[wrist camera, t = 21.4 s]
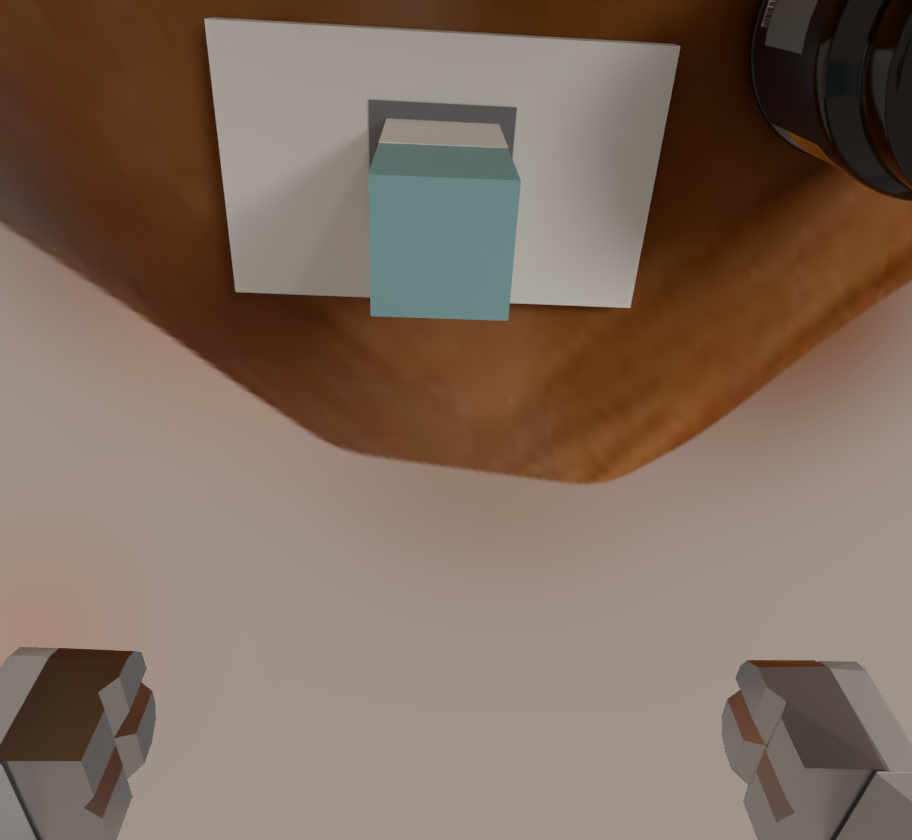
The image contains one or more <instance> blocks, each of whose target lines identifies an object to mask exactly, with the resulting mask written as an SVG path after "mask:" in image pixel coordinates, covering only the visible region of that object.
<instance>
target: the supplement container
mask: <svg viewBox="0 0 912 840" xmlns="http://www.w3.org/2000/svg"><path fill="white" fill-rule="evenodd" d="M745 69H746V78H747V83H748V87H749V92H750V95H751V97H752V100H753V103H754V105H755V107H756V109H757V111H758V113H759V115H760V116H761V118H762V120H763V121H764V123H765V124H766V125H767V126H768V127H769V129H770V130H771V131H772V132H773V133H774V134H775V135H776V136H777V137H778V138H780V139H781V140H782V141H783V142H785V143H786V144H788V145H789V146H791V147H793V148H795V149H797V150H799V151H801V152H803V153H805V154H808V155H811V156H814V157H817V158H819V159H821V160H823V161H825V162H827V163H829V164H831V165H833V166H835V167H837V168H839V169H841V170H843V171H845V172H847V173H848V174H849V175H850V176H851V177H852V178H854V179H855V180H856V181H858V182H859V183H861V184H862V185H864V186H866V187H868V188H870V189H872V190H874V191H876V192H878V193H880V194H883V195H886V196H889V197H892V198H896V199H901V200H906V201H912V0H756V1H755V4H754V7H753V10H752V13H751V17H750V21H749V25H748V30H747V36H746V45H745Z"/></svg>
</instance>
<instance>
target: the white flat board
mask: <svg viewBox="0 0 912 840" xmlns="http://www.w3.org/2000/svg"><path fill="white" fill-rule="evenodd" d="M204 22H205V31H206V39H207V48H208V57H209V65H210V74H211V83H212V92H213V100H214V109H215V118H216V127H217V135H218V144H219V153H220V161H221V170H222V179H223V188H224V196H225V205H226V214H227V223H228V231H229V240H230V249H231V257H232V266H233V275H234V284H235V292H246V293H271V294H295V295H320V296H345V297H370V251H369V194H368V173H369V170H370V167H371V164H372V161H373V158H374V155H375V152H376V149H377V146H378V143H379V139H380V136H381V133H382V130H383V127H384V124H385V121H386V118H391V119H410V120H430V121H449V122H468V123H488V124H499V125H500V128H501V130H502V133H503V135H504V138H505V140H506V143H507V145H508V149H509V152H510V154H511V157H512V159H513V162H514V164H515V167H516V169H517V172H518V174H519V177H520V180H521V186H520V197H519V208H518V219H517V230H516V240H515V251H514V262H513V273H512V284H511V295H510V303H518V304H543V305H568V306H593V307H618V308H630V307H631V301H632V296H633V291H634V286H635V281H636V275H637V270H638V265H639V260H640V255H641V249H642V244H643V239H644V234H645V229H646V223H647V218H648V213H649V208H650V203H651V197H652V192H653V187H654V182H655V177H656V171H657V166H658V161H659V156H660V151H661V146H662V140H663V135H664V130H665V125H666V120H667V114H668V109H669V104H670V99H671V94H672V88H673V83H674V78H675V73H676V68H677V62H678V57H679V52H680V47H681V46H678V45H675V44H670V43H653V42H635V41H618V40H601V39H583V38H566V37H549V36H531V35H514V34H497V33H479V32H462V31H445V30H427V29H410V28H393V27H375V26H358V25H340V24H323V23H306V22H288V21H271V20H254V19H236V18H219V17H210V18H205V19H204Z"/></svg>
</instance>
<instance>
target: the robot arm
mask: <svg viewBox="0 0 912 840" xmlns="http://www.w3.org/2000/svg"><path fill="white" fill-rule="evenodd" d="M145 671H146V666H145V662H144V659H143V656H142V653H141V652H136V651H114V650H91V649H68V648H32V647H20V648H19V649H17V650H16V651H15V652H14V653H12V654H11V655H10V656H9V657H8V658H7V659H6V661H5V662H4V664H3V666H2V667H1V669H0V840H116V839H117V836H118V834H119V831H120V828H121V826H122V823H123V820H124V818H125V815H126V812H127V809H128V807H129V803H130V801H131V799H132V794H131V791H130V787H129V784H128V781H127V779H128V778H129V777H130V776H131V775H132V774H133V773H134V772H135V771H137V770H138V769H139V768H140V767H141V766H142V765H143V764H144V763H145V760H146V757H147V754H148V752H149V749H150V746H151V743H152V738H153V732H154V726H155V720H156V714H155V700H154V696H153V692H152V690H150V689H149V688H148V687H146V686H145V685H144V684H143V683H141V681H142V679H143V676H144V674H145ZM736 680H737V682H738V685H739V688H740V691H738V692H737V693H736V694H734V695H732V696H731V697H730V698H728V699H727V702H726V705H725V708H724V711H723V714H722V738H723V742H724V748H725V752H726V755H727V758H728V761H729V763H730V766H731V769H732V770H733V771H734V772H735V773H736V774H737V775H738V776H739V777H740V778H742V779H743V780H744V781H745V782H746V783H747V784H748V785H749V786H748V789H747V792H746V795H745V798H744V801H743V802H744V804H745V807H746V810H747V812H748V815H749V818H750V820H751V823H752V826H753V828H754V831H755V834H756V836H757V838H758V840H912V744H911V742H910V740H909V739H908V737H907V736H906V734H905V733H904V731H903V729H902V728H901V726H900V724H899V723H898V721H897V719H896V718H895V716H894V715H893V713H892V711H891V710H890V708H889V707H888V705H887V703H886V702H885V700H884V699H883V697H882V695H881V694H880V692H879V691H878V689H877V687H876V686H875V685H874V682H873V681H872V679H871V678H870V676H869V674H868V673H867V671H866V670H865V668H863V667H862V666H861V665H860V664H858V663H857V662H832V661H830V662H829V661H819V662H817V661H814V660H804V661H803V660H799V661H798V660H747V661H746V662H745V663H743V664H742V665H741V666H740V668H739V671H738V673H737V676H736Z"/></svg>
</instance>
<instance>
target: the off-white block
mask: <svg viewBox="0 0 912 840" xmlns="http://www.w3.org/2000/svg"><path fill="white" fill-rule="evenodd" d="M379 143H396V144H419V145H442V146H465V147H488V148H508V145H507V143H506V140H505V138H504V135H503V133H502V130H501V128H500V125H499V124H488V123H468V122H449V121H430V120H410V119H391V118H386V121H385V124H384V127H383V130H382V133H381V136H380V139H379Z"/></svg>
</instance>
